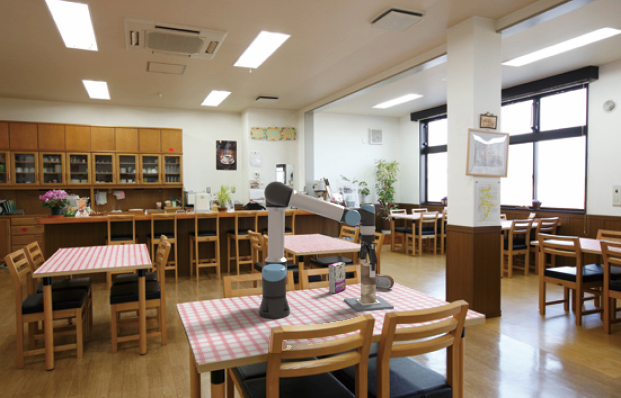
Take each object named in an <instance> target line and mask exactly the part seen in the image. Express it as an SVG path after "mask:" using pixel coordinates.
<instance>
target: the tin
mask: <svg viewBox="0 0 621 398" xmlns="http://www.w3.org/2000/svg"><path fill="white" fill-rule="evenodd" d="M394 284H395V280H394V278H393V277H392V276H391V275H388V274H382V273H376V289H382V290H389V289H390V290H391V289H392V288H393V287H394V286H395V285H394Z"/></svg>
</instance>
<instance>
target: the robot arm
mask: <svg viewBox="0 0 621 398" xmlns="http://www.w3.org/2000/svg"><path fill="white" fill-rule="evenodd" d="M295 189H296V188H293V187H289V186H288V185H286V184H285V183H283V182H281V181H271V182H269V183H268V184H267V185H266V186H265V187H264V193H263V194H264V198H265V209H266V210H267V211H268V215H267V221H268V222H267V256H266V257H265V258H264V265H263V267H262V269H261V286H262V287H261V288H262V289H261V290H262V291H261V295H262V296H261V301H260V305H259V308H258V315H259V316H260V317H262V318H264V319H281V318H286V317H288V316H289V315H290V314H291V307H290V305H289V302H288V299H287V278H288V277H287V276H288V259H287V258H286V257H285V227H286V224H285V223H286V222H285V221H286V220H285V219H286V218H285V217H286V210H288V209H289V208H290V207H293V208H295V209H299V210H303V211H305V212H308V213H312V214H315V215H318V216H320V217H325V218H329V219H331V220H334V221H337V222H338V223H341V224H342V223H343V224H347V225H349V226H357V225H358V224H359V223H360V226H359V227H360V249H359V255H358V258H359V259H360V265H361V264H365V263H367V255H368V260H369V263H370V264H369V265H370V277H375V265H377V264H378V259H377V255H376V254H377V253H376V246H375V244H373V243H374V242H376V235H375V233H376V229H377V228H376V207H375V205H374V204H371V203H369V204H368V203H367V204H360V207H359V208H358V207H357V208H351V207H347V206H344V205H340V204H336V203H334V202H331V201H327V200H325V199H322V198H318V197H315V196H312V195H309V194H306V193H302V192H299V191H296V190H295Z"/></svg>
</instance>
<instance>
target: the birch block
mask: <svg viewBox="0 0 621 398" xmlns="http://www.w3.org/2000/svg"><path fill="white" fill-rule="evenodd" d="M376 291H377V288H376V284H374V285H364V284H362V283H361V282H360V297H361V302H362V303H376V296H377V295H376V294H377V293H376Z"/></svg>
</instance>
